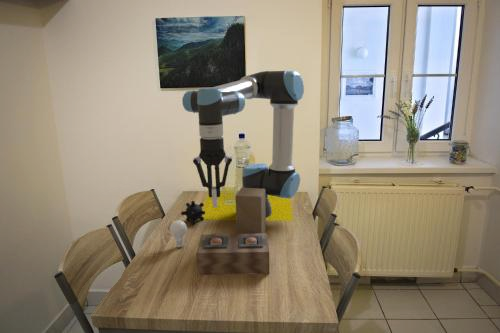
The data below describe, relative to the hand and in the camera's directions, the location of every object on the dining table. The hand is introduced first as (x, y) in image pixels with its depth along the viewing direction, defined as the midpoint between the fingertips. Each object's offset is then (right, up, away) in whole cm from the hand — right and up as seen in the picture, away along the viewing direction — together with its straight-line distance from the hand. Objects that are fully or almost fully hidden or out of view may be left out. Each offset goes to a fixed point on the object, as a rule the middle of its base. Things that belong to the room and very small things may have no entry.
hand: (215, 205), depth 125 cm
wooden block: (+12, -16, +24) cm, 31 cm away
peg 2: (+12, -20, +5) cm, 24 cm away
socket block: (+6, -21, +5) cm, 22 cm away
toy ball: (-14, -12, +41) cm, 45 cm away
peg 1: (0, -20, +5) cm, 21 cm away
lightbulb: (-15, -18, +18) cm, 30 cm away
